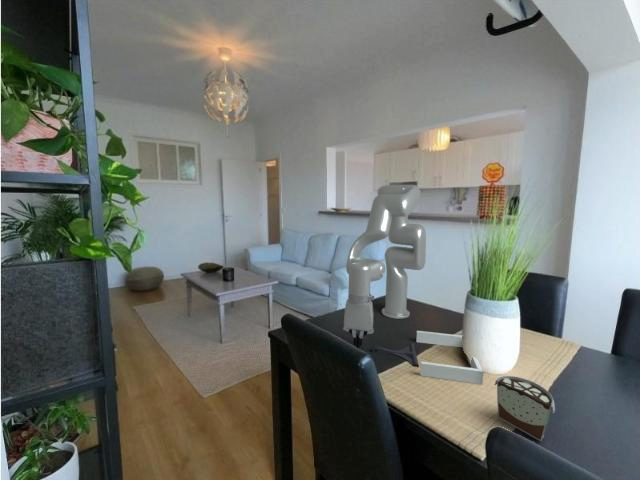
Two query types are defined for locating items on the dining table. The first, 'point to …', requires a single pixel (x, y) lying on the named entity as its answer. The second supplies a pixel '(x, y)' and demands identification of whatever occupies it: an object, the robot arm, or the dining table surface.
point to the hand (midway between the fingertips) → (357, 346)
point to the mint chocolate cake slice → (524, 405)
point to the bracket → (401, 353)
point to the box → (449, 371)
